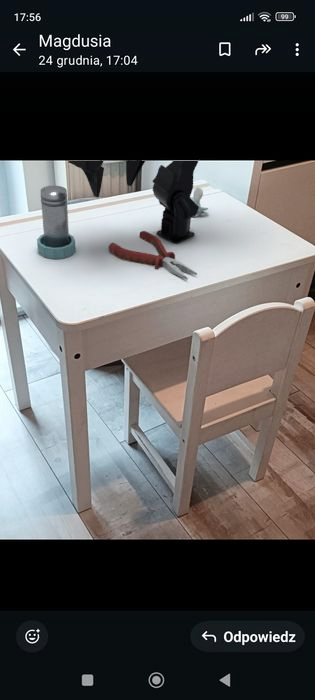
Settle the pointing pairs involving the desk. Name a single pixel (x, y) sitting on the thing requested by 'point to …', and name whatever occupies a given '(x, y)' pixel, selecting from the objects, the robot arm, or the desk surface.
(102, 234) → the desk surface
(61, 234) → the piston
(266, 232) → the desk surface
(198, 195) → the pacifier
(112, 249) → the pliers
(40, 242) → the ring collar
